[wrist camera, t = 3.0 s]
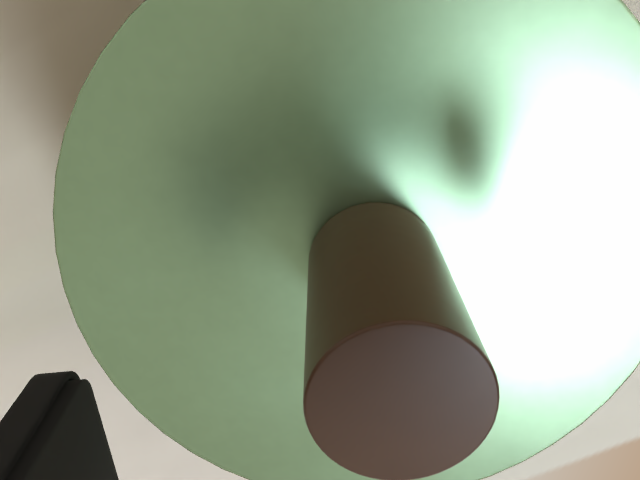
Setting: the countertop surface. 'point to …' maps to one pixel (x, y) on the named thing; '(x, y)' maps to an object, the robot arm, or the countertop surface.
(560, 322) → the pot lid
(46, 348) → the countertop surface
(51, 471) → the robot arm
